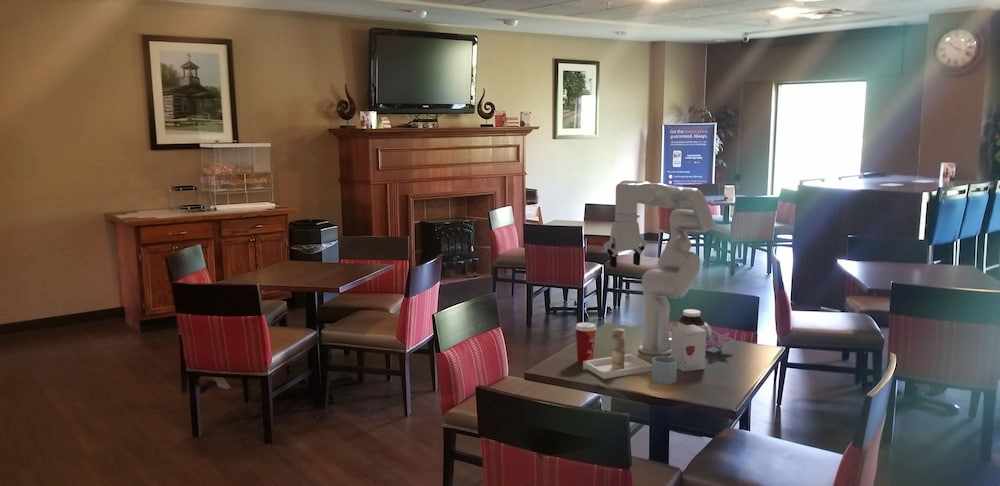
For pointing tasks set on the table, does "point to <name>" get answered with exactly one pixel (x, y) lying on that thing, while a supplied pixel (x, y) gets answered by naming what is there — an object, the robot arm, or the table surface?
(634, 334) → the table surface
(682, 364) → the supplement box
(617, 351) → the dowel
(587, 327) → the paper cup
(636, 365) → the tray
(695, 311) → the spread jar
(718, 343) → the lily
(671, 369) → the cup
